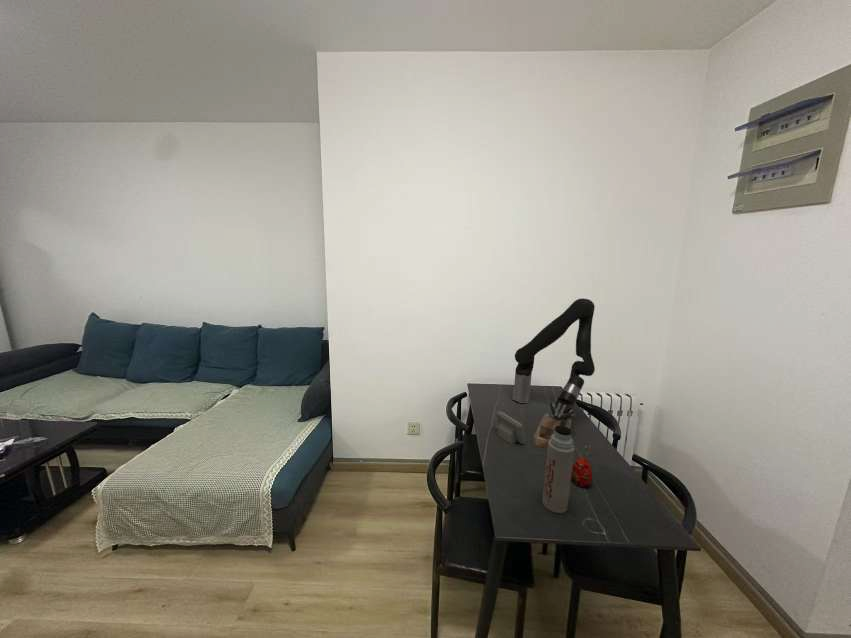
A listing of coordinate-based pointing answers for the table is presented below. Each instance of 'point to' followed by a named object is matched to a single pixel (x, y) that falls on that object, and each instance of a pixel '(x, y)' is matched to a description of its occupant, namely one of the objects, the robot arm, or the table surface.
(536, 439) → the chute
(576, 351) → the robot arm
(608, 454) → the table surface
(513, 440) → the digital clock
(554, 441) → the thermos bottle
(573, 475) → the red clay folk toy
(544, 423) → the block
